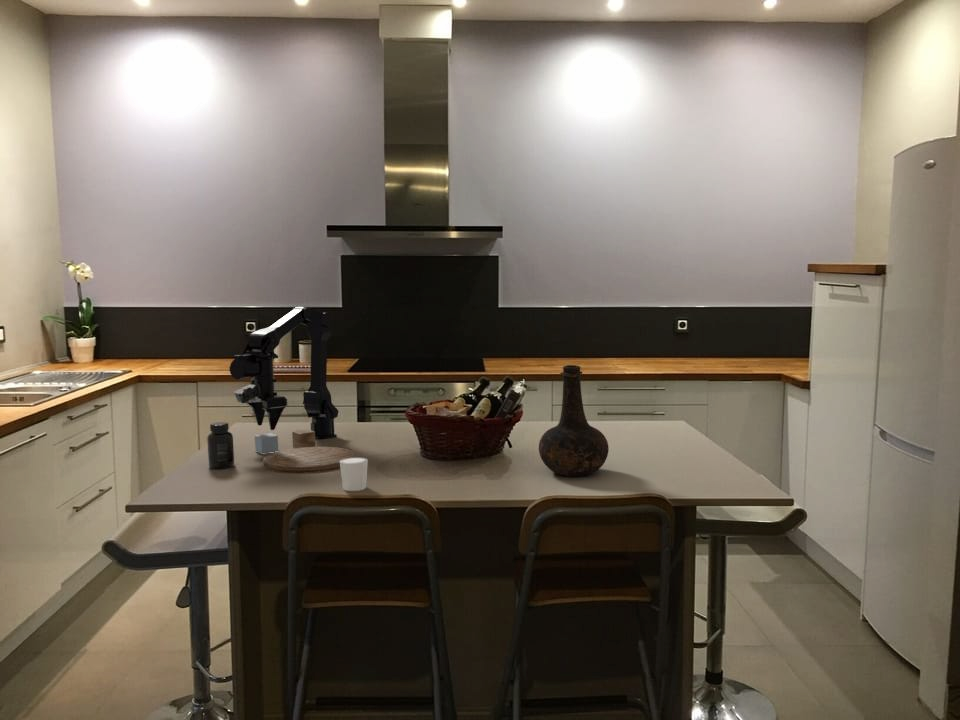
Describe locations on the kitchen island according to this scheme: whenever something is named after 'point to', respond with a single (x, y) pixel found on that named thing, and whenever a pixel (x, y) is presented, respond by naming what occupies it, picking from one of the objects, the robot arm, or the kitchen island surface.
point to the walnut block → (303, 438)
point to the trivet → (306, 459)
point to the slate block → (266, 443)
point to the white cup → (354, 473)
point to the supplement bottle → (220, 446)
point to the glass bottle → (573, 434)
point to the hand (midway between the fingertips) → (266, 427)
